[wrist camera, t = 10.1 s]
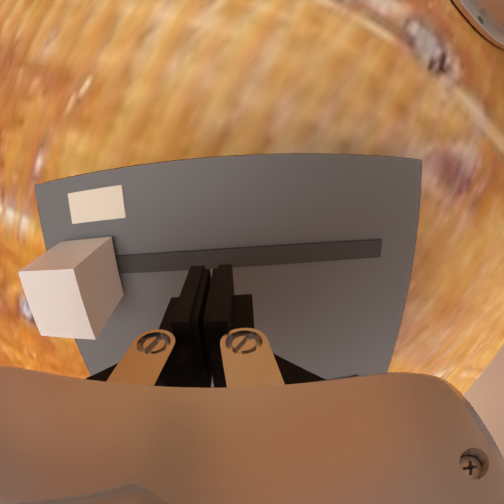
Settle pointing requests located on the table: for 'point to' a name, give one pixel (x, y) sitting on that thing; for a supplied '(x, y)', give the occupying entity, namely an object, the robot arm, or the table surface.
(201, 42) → the table surface
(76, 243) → the slider
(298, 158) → the switch panel
